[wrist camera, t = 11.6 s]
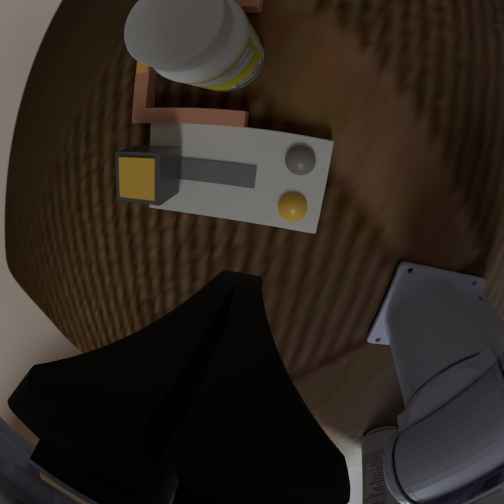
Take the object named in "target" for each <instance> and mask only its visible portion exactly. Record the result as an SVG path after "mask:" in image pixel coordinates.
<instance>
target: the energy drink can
mask: <svg viewBox="0 0 504 504" xmlns="http://www.w3.org/2000/svg"><path fill="white" fill-rule="evenodd" d="M396 431H398V430H397V428H396V427H395V426H383V427H379V428H375V429H373V430H371V431H369V432H368V433H366V434H365V438H364V439H363V440H362V441H361V447H362V472H363V473H362V476H363V503H362V504H401V503H399V502H398V501H397V500H396V499H395V497H394V496H393V495H392V494H391V492H390V491H389V489H388V487H387V484H386V481H385V477H384V471H383V462H384V453H385V449H386V445H387V443H388V441H389V439H390V437H391V436H392V435H393V434H394V433H395V432H396Z"/></svg>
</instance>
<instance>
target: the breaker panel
mask: <svg viewBox="0 0 504 504" xmlns="http://www.w3.org/2000/svg"><path fill="white" fill-rule="evenodd" d="M333 142H334V141H332V140H327V139H322V138H317V137H312V136H306V135H300V134H294V133H288V132H282V131H275V130H267V129H260V128H251V127H245V128H242V127H231V126H220V125H205V124H185V123H151V131H150V145H155V146H176V147H181V154H180V177H179V193H177V194H176V195H174V196H173V197H172V198H170V199H169V200H167V201H166V202H165V203H163V204H162V205H161V206H157V205H150V207H151V208H158V209H165V210H172V211H179V212H186V213H193V214H200V215H206V216H213V217H219V218H226V219H232V220H238V221H244V222H250V223H256V224H262V225H268V226H274V227H280V228H286V229H291V230H297V231H303V232H308V233H314V234H315V233H316V229H317V224H318V220H319V215H320V210H321V206H322V201H323V196H324V191H325V186H326V181H327V176H328V170H329V165H330V159H331V154H332V148H333Z"/></svg>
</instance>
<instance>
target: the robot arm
mask: <svg viewBox="0 0 504 504" xmlns="http://www.w3.org/2000/svg"><path fill="white" fill-rule="evenodd" d="M410 268H412V269H411V271H408V269H410ZM262 282H263V280H262V279H261V277H260V276H254V275H249V274H244V273H238V272H233V271H227V270H223V271H221V272H220V273H219V274H218V275H217V276H216V277H214V278H213V279H212V280H211V281H210V282H209V283H208V284H206V285H205V286H204V287H203V288H202V289H200V290H199V291H198V292H197V293H195V294H194V295H193V296H192V297H190V298H189V299H188V300H186V301H185V302H184V303H182V304H181V305H180V306H178V307H177V308H175V309H174V310H172V311H171V312H169V313H168V314H167V315H165V316H164V317H162V318H160V319H159V320H157V321H155V322H154V323H152V324H150V325H149V326H147V327H145V328H143V329H141V330H140V331H138V332H136V333H134V334H131V335H129V336H127V337H125V338H122V339H120V340H118V341H116V342H114V343H111V344H109V345H106V346H104V347H101V348H98V349H96V350H93V351H90V352H87V353H83V354H80V355H77V356H74V357H70V358H66V359H62V360H58V361H53V362H49V363H43V364H38V365H34V366H33V367H32V368H31V369H30V371H29V372H28V373H27V375H26V376H25V377H24V379H23V380H22V381H21V383H20V384H19V385H18V387H17V388H16V389H15V391H14V392H13V394H12V395H11V396H10V398H9V399H8V405H9V408H10V409H11V410H12V411H13V413H14V414H15V415H16V416H17V417H18V418H19V419H20V420H21V421H22V422H23V423H24V424H25V425H26V426H27V427H28V428H29V429H30V430H31V431H32V432H33V433H34V434H35V435H36V436H37V437H38V438H39V439H40V440H39V442H38V444H37V446H36V447H35V446H33V445H32V444H31V443H30V442H28V441H27V440H26V439H25V438H23V437H22V436H21V435H20V434H19V433H17V432H16V431H15V430H14V429H13V428H11V427H10V426H9V425H8V424H7V423H6V422H5V421H4V420H2V418H0V504H81V503H79V502H77V501H76V500H75V499H73V498H72V497H70V496H68V495H67V494H65V493H63V492H62V491H60V490H59V489H57V488H55V487H53V486H52V485H50V484H48V483H47V482H45V481H44V480H42V479H41V478H40V473H39V471H40V472H41V473H42V474H44V475H45V476H47V477H48V478H49V479H51V480H52V481H54V482H55V483H57V484H58V485H60V486H61V487H63V488H64V489H66V490H67V491H69V492H71V493H72V494H74V495H76V496H77V497H79V498H81V499H83V500H84V501H86V502H88V503H89V504H347V503H348V502H349V500H350V481H349V475H348V469H347V465H346V460H345V457H344V455H343V454H342V453H341V452H340V450H339V449H338V448H337V447H336V446H335V444H334V443H333V442H332V441H331V440H330V438H329V437H328V436H327V434H326V433H325V432H324V431H323V429H322V428H321V427H320V425H319V424H318V422H317V421H316V419H315V418H314V417H313V415H312V414H311V412H310V411H309V409H308V408H307V406H306V404H305V403H304V401H303V399H302V398H301V396H300V394H299V393H298V391H297V389H296V387H295V386H294V384H293V382H292V380H291V378H290V376H289V374H288V372H287V370H286V368H285V366H284V364H283V362H282V360H281V357H280V355H279V353H278V350H277V347H276V345H275V342H274V339H273V336H272V333H271V330H270V327H269V323H268V320H267V316H266V311H265V307H264V302H263V295H262ZM484 286H485V280H484V278H482V277H477V276H472V275H468V274H463V273H458V272H454V271H449V270H444V269H439V268H434V267H430V266H425V265H420V264H415V263H410V262H402V263H400V264H399V266H398V268H397V270H396V273H395V276H394V278H393V280H392V283H391V285H390V288H389V290H388V292H387V295H386V297H385V299H384V302H383V304H382V306H381V308H380V310H379V313H378V315H377V317H376V319H375V321H374V323H373V325H372V327H371V329H370V331H369V334H368V336H367V341H368V342H369V343H376V344H386V345H390V347H391V351H392V354H393V358H394V362H395V366H396V370H397V374H398V378H399V382H400V387H401V391H402V396H403V401H404V405H405V411H404V412H402V413H401V414H400V415H398V416H397V421H398V428H399V430H398V431H396V432H395V433H394V434H393V435H392V436H391V437H390V439H389V441H388V443H387V445H386V449H385V453H384V462H383V471H384V477H385V481H386V484H387V487H388V489H389V491H390V492H391V494H392V495H393V496H394V497H395V499H396V500H397V501H398V502H399V503H401V504H504V322H503V320H502V319H501V317H500V316H499V314H498V313H497V311H496V310H495V308H494V307H493V306H492V304H491V303H490V301H489V300H488V299H487V297H486V296H485V294H484V293H483V292H482V290H483V288H484ZM376 338H378V339H376Z"/></svg>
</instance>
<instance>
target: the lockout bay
mask: <svg viewBox="0 0 504 504" xmlns="http://www.w3.org/2000/svg"><path fill="white" fill-rule="evenodd" d="M234 1H236V2H237V3H238V4H239V5H240V6H241V7H242V9H243V10H244V12H248V13H262V8H263V0H234ZM157 74H158V72H157V71H156V70H155V69H154V68H153V67H150V66H147V65H144V64H142V63H140V62H138V61H137V68H136V77H135V88H134V100H133V115H132V123H185V124H205V125H220V126H231V127H242V128H245V127H247V125H248V116H249V112H247V111H237V110H224V109H207V108H154V106H155V94H156V83H157Z"/></svg>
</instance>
